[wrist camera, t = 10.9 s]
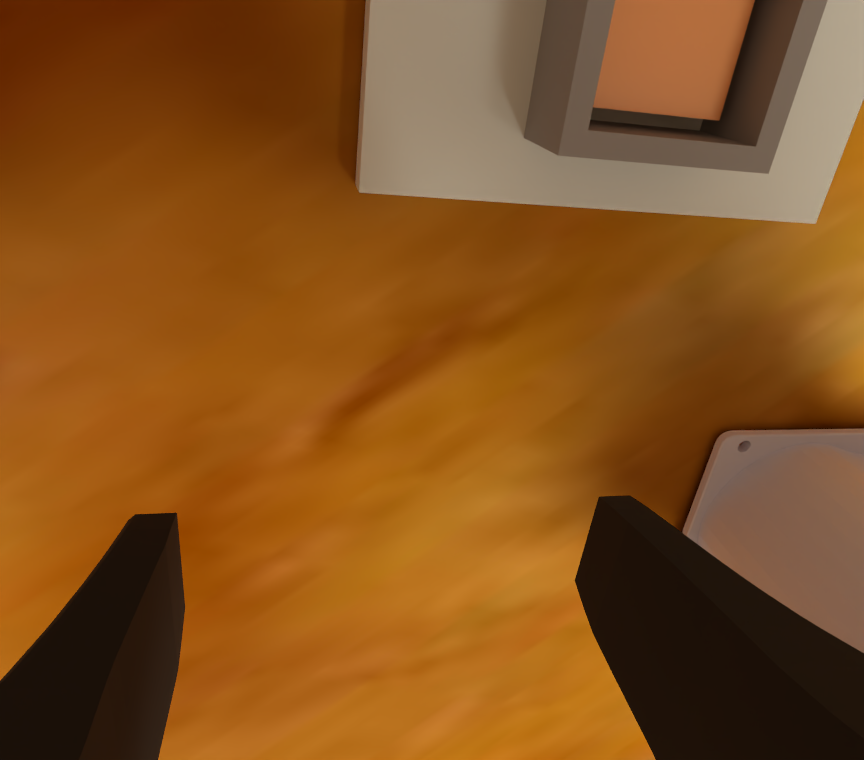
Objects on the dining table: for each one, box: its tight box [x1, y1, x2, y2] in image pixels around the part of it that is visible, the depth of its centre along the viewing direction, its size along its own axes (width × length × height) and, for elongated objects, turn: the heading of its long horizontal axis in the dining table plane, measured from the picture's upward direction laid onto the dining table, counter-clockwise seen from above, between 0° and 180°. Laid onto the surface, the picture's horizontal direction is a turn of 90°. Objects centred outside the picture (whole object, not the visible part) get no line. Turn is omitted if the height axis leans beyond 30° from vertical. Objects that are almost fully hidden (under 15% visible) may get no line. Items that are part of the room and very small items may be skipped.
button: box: [593, 0, 755, 121], centre depth 16 cm, size 4×4×1 cm
